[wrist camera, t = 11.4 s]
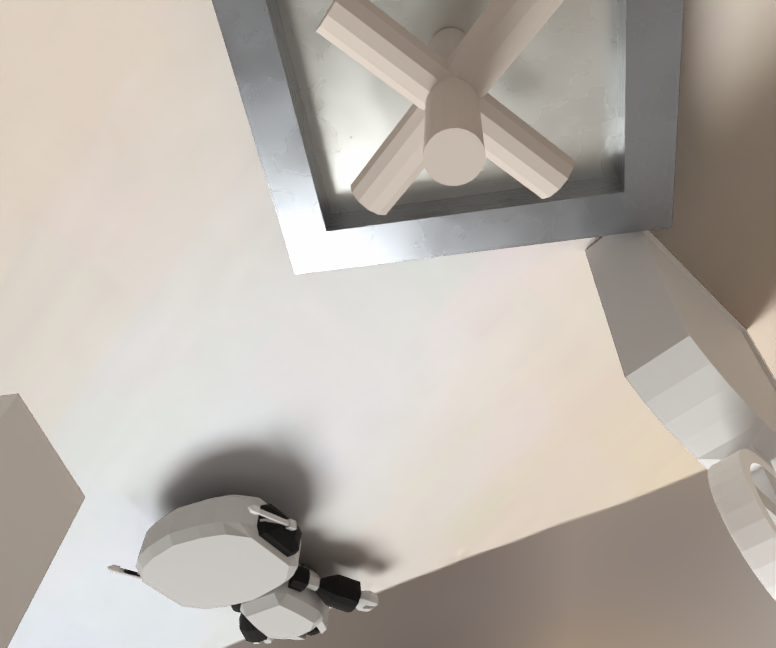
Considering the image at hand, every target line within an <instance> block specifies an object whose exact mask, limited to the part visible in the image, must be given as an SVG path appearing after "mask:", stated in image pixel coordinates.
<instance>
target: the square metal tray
mask: <svg viewBox="0 0 776 648" xmlns="http://www.w3.org/2000/svg"><path fill="white" fill-rule="evenodd" d="M333 1H334V0H212V2H213V6H214V9H215V12H216V16H217V19H218V22H219V25H220V29H221V32H222V35H223V39H224V42H225V45H226V48H227V52H228V55H229V58H230V62H231V65H232V68H233V72H234V75H235V78H236V81H237V85H238V88H239V91H240V95H241V98H242V101H243V104H244V108H245V111H246V114H247V118H248V121H249V124H250V127H251V131H252V134H253V137H254V141H255V144H256V147H257V150H258V154H259V157H260V160H261V164H262V167H263V170H264V174H265V177H266V180H267V183H268V187H269V190H270V193H271V197H272V200H273V203H274V206H275V210H276V213H277V216H278V220H279V223H280V226H281V229H282V233H283V236H284V239H285V243H286V246H287V249H288V253H289V256H290V259H291V262H292V266H293V269H294V272H295V274H302V273H310V272H318V271H326V270H334V269H342V268H350V267H358V266H366V265H374V264H382V263H390V262H398V261H406V260H414V259H422V258H430V257H438V256H446V255H454V254H462V253H470V252H479V251H487V250H495V249H503V248H511V247H519V246H527V245H535V244H543V243H551V242H559V241H567V240H575V239H583V238H591V237H599V236H607V235H615V234H623V233H631V232H639V231H647V230H655V229H663V228H671V227H672V215H673V196H674V177H675V159H676V140H677V121H678V102H679V84H680V65H681V46H682V27H683V8H684V0H564V1H563V2H562V4H561V5H560V6H559V7H558V8H557V10H556V11H555V12H554V13H553V14H552V16H551V17H550V18H549V19H548V20H547V22H546V23H545V24H544V25H543V26H542V28H541V29H540V30H539V31H538V32H537V34H536V35H535V36H534V37H533V38H532V40H531V41H530V42H529V43H528V44H527V46H526V47H525V48H524V49H523V50H522V52H521V53H520V54H519V55H518V57H517V58H516V59H515V60H514V61H513V63H512V64H511V65H510V66H509V67H508V69H507V70H506V71H505V72H504V73H503V75H502V76H501V77H500V78H499V79H498V81H497V82H496V83H495V84H494V85H493V87H492V88H491V89H490V90H489V91H488V93H489V94H490V95H491V96H492V97H494V98H495V99H496V100H498V101H499V102H500V103H501V104H503V105H504V106H505V107H507V108H508V109H509V110H510V111H512V112H513V113H514V114H516V115H517V116H518V117H519V118H521V119H522V120H523V121H525V122H526V123H527V124H528V125H530V126H531V127H532V128H534V129H535V130H536V131H537V132H539V133H540V134H541V135H543V136H544V137H545V138H546V139H548V140H549V141H550V142H552V143H553V144H554V145H555V146H557V147H558V148H559V149H560V150H562V151H563V152H564V153H566V154H567V155H568V156H569V157H571V158H572V159H573V160H574V165H573V170H572V172H571V174H570V176H569V178H568V179H567V181H566V182H565V183H564V184H563V186H562V187H561V188H560V189H559V190H558V191H557V192H556V193H554V194H553V195H552V196H551V197H548V198H545V199H542V198H541V197H539V196H538V195H536V194H535V193H534V192H532V191H531V190H530V189H528V188H527V187H526V186H524V185H523V184H522V183H520V182H519V181H518V180H516V179H515V178H513V177H512V176H511V175H509V174H508V173H507V172H505V171H504V170H503V169H501V168H500V167H499V166H497V165H496V164H495V163H493V162H492V161H490V160H489V159H488V158H486V157H485V163H484V166H483V168H482V170H481V172H480V173H479V174H478V176H476V177H475V178H474V179H473V180H472V181H470V182H468V183H466V184H463V185H459V186H448V185H444V184H441V183H439V182H437V181H435V180H434V179H433V178H432V177H431V176H430V175H429V174H428V172H427V171H426V169H425V168H424V170H423V171H422V172H421V173H420V174H419V176H418V177H417V178H416V179H415V180H414V182H413V183H412V184H411V185H410V186H409V188H408V189H407V190H406V191H405V192H404V194H403V195H402V196H401V197H400V198H399V200H398V201H397V202H396V203H395V204H394V206H393V207H392V208H391V209H390V210H389V212H388V213H387V214H386V215H378V214H376V213H374V212H372V211H370V210H368V209H366V208H365V207H364V206H363V205H362V204H361V203H359V202H358V200H357V199H356V198H355V196H354V195H353V194H352V191H351V186H350V185H351V184H352V182H353V181H354V180H355V178H356V177H357V176H358V175H359V173H360V172H361V171H362V169H363V168H364V167H365V165H366V164H367V163H368V162H369V160H370V159H371V158H372V156H373V155H374V154H375V152H376V151H377V150H378V149H379V147H380V146H381V145H382V143H383V142H384V141H385V139H386V138H387V137H388V136H389V134H390V133H391V132H392V130H393V129H394V128H395V126H396V125H397V124H398V123H399V121H400V120H401V119H402V117H403V116H404V115H405V113H406V112H407V111H408V110H409V108H410V107H411V106H412V104H413V103H412V102H411V101H409V100H408V99H407V98H405V97H404V96H403V95H401V94H400V93H398V92H397V91H396V90H394V89H393V88H392V87H390V86H389V85H388V84H386V83H385V82H384V81H382V80H381V79H380V78H378V77H377V76H375V75H374V74H373V73H371V72H370V71H369V70H367V69H366V68H365V67H363V66H362V65H361V64H359V63H358V62H357V61H355V60H354V59H352V58H351V57H350V56H348V55H347V54H346V53H344V52H343V51H342V50H340V49H339V48H338V47H336V46H335V45H334V44H332V43H331V42H329V41H328V40H327V39H325V38H324V37H323V36H321V35H320V34H319V33H317V32H316V29H317V28H318V26H319V24H320V22H321V21H322V19H323V17H324V16H325V14H326V12H327V11H328V9H329V7H330V6H331V4H332V2H333ZM369 1H370V2H372V3H373V4H374V5H376V6H377V7H378V8H379V9H381V10H382V11H383V12H385V13H386V14H387V15H388V16H390V17H391V18H392V19H394V20H395V21H396V22H397V23H399V24H400V25H401V26H403V27H404V28H405V29H406V30H408V31H409V32H410V33H412V34H413V35H414V36H415V37H417V38H418V39H419V40H420V41H422V42H423V43H424V44H426V45H427V46H428V45H429V42H430V40H431V39H432V37H433V36H434V35H435V34H436V33H437V32H439V31H440V30H442V29H446V28H456V29H459V30H461V31H463V32H464V33H465V34H467V33H468V32H469V30H470V29H471V28H472V26H473V25H474V24H475V22H476V21H477V20H478V18H479V17H480V16H481V15H482V13H483V12H484V11H485V9H486V8H487V7H488V5H489V4H490V3H491V2H492V0H369Z"/></svg>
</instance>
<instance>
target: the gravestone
mask: <svg viewBox="0 0 776 648" xmlns="http://www.w3.org/2000/svg"><path fill="white" fill-rule="evenodd" d="M585 252H586V256H587V259H588V262H589V265H590V268H591V271H592V274H593V278H594V281H595V284H596V287H597V290H598V293H599V297H600V300H601V303H602V306H603V309H604V312H605V315H606V319H607V322H608V325H609V328H610V331H611V334H612V338H613V341H614V344H615V347H616V350H617V353H618V356H619V360H620V363H621V366H622V369H623V372H624V375H625V378H626V379H627V381H628V382H629V383H630V384H631V386H632V387H633V388H634V390H635V391H636V392H637V394H638V395H639V396H640V398H641V399H642V400H643V402H644V403H645V404H646V405H647V407H648V408H649V409H650V410H651V411H652V413H653V414H654V415H655V416H656V417H657V419H658V420H659V421H660V422H661V423H662V425H663V426H664V427H665V428H666V429H667V430H668V431H669V432H670V433H671V434H672V435H673V436H674V437H675V438H676V439H677V441H678V442H679V443H680V444H681V445H682V446H683V447H684V448H685V449H686V450H687V451H688V452H690V453H691V454H692V455H693V456H694V457H695V458H696V459H697V460H698V461H699V462H700V463H701V464H702V465H703V466H704V467H705V468H706V469H707V470H708V480H709V485H710V490H711V493H712V495H713V498H714V501H715V504H716V506H717V508H718V511H719V513H720V515H721V517H722V519H723V521H724V523H725V525H726V527H727V529H728V531H729V533H730V535H731V536H732V538H733V540H734V542H735V543H736V545H737V547H738V549H739V550H740V552H741V553H742V555H743V557H744V558H745V560H746V561H747V563H748V564H749V566H750V567H751V569H752V570H753V572H754V573H755V575H756V576H757V577H758V579H759V580H760V581H761V583H762V584H763V586H764V587H765V588H766V590H767V591H768V592H769V593H770V594H771V596H772V597H773V598H774V599H775V601H776V380H775V378H774V376H773V374H772V373H771V371H770V369H769V368H768V366H767V364H766V362H765V361H764V359H763V357H762V356H761V354H760V352H759V350H758V349H757V347H756V345H755V344H754V342H753V340H752V338H751V337H750V335H749V333H748V332H747V330H746V329H745V328H744V327H743V326H742V325H741V324H740V323H739V322H738V321H737V320H736V319H735V318H734V317H733V316H732V315H731V314H730V313H729V312H728V311H727V310H726V308H725V307H724V306H723V305H722V304H721V303H720V302H719V301H718V300H717V299H716V298H715V297H714V296H713V295H712V294H711V293H710V292H709V291H708V290H707V289H706V288H705V287H704V286H703V285H702V284H701V283H700V282H699V281H698V280H697V279H696V278H695V277H694V276H693V275H692V274H691V273H690V272H689V271H688V270H687V269H686V268H685V267H684V266H683V265H682V264H681V263H680V262H679V261H678V259H677V258H676V257H675V256H674V255H673V254H672V253H671V252H670V251H669V250H668V249H667V248H666V247H665V246H664V245H663V244H662V243H661V242H660V241H659V240H658V239H657V238H656V237H655V236H654V235H653V234H652V233H651V232H650V231H649V230H647V231H639V232H631V233H623V234H615V235H607V236H603V237H602V238H600V239H599V240H598V241H597V242H595V243H594V244H593V245H591V246H590V247H589V248H588V249H586V250H585Z"/></svg>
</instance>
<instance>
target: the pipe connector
mask: <svg viewBox="0 0 776 648" xmlns="http://www.w3.org/2000/svg"><path fill="white" fill-rule="evenodd" d="M563 1H564V0H492V2H491V3H490V4H489V5H488V7H487V8H486V9H485V11H484V12H483V13H482V15H481V16H480V17H479V18H478V20H477V21H476V22H475V24H474V25H473V26H472V28H471V29H470V30H469V32H468V33H467V34H465V33H464V32H463V31H461V30H459V29H456V28H446V29H442V30H440V31H439V32H437V33H436V34H435V35H434V36H433V37H432V39H431V40H430V42H429V45H428V46H427V45H426V44H424V43H423V42H422V41H420V40H419V39H418V38H417V37H415V36H414V35H413V34H412V33H410V32H409V31H408V30H406V29H405V28H404V27H403V26H401V25H400V24H399V23H397V22H396V21H395V20H394V19H392V18H391V17H390V16H388V15H387V14H386V13H385V12H383V11H382V10H381V9H379V8H378V7H377V6H376V5H374V4H373V3H372V2H370V1H369V0H334V1H333V2H332V4H331V6H330V7H329V9H328V11H327V12H326V14H325V16H324V17H323V19H322V21H321V22H320V24H319V26H318V28H317V29H316V32H317V33H319V34H320V35H321V36H323V37H324V38H325V39H327V40H328V41H329V42H331V43H332V44H334V45H335V46H336V47H338V48H339V49H340V50H342V51H343V52H344V53H346V54H347V55H348V56H350V57H351V58H352V59H354V60H355V61H357V62H358V63H359V64H361V65H362V66H363V67H365V68H366V69H367V70H369V71H370V72H371V73H373V74H374V75H375V76H377V77H378V78H380V79H381V80H382V81H384V82H385V83H386V84H388V85H389V86H390V87H392V88H393V89H394V90H396V91H397V92H398V93H400V94H401V95H403V96H404V97H405V98H407V99H408V100H409V101H411V102H412V103H413V104H412V106H411V107H410V108H409V110H408V111H407V112H406V113H405V115H404V116H403V117H402V119H401V120H400V121H399V123H398V124H397V125H396V126H395V128H394V129H393V130H392V132H391V133H390V134H389V136H388V137H387V138H386V139H385V141H384V142H383V143H382V145H381V146H380V147H379V149H378V150H377V151H376V152H375V154H374V155H373V156H372V158H371V159H370V160H369V162H368V163H367V164H366V165H365V167H364V168H363V169H362V171H361V172H360V173H359V175H358V176H357V177H356V178H355V180H354V181H353V182H352V184H351V185H350V186H351V191H352V194H353V195H354V196H355V198H356V199H357V200H358V202H359V203H361V204H362V205H363V206H364V207H365V208H366V209H368V210H370V211H372V212H374V213H376V214H378V215H386V214H387V213H388V212H389V210H390V209H391V208H392V207H393V206H394V204H395V203H396V202H397V201H398V200H399V198H400V197H401V196H402V195H403V194H404V192H405V191H406V190H407V189H408V188H409V186H410V185H411V184H412V183H413V182H414V180H415V179H416V178H417V177H418V176H419V174H420V173H421V172H422V171H423V170H424V168H425V169H426V171H427V172H428V174H429V175H430V176H431V177H432V178H433V179H434V180H435V181H437V182H439V183H441V184H444V185H448V186H459V185H463V184H466V183H468V182H470V181H472V180H473V179H474V178H475V177H476V176H478V174H479V173H480V172H481V170H482V168H483V166H484V163H485V157H486V158H488V159H489V160H490V161H492V162H493V163H495V164H496V165H497V166H499V167H500V168H501V169H503V170H504V171H505V172H507V173H508V174H509V175H511V176H512V177H513V178H515V179H516V180H518V181H519V182H520V183H522V184H523V185H524V186H526V187H527V188H528V189H530V190H531V191H532V192H534V193H535V194H536V195H538V196H539V197H541V198H542V199H545V198H548V197H551V196H552V195H553V194H554V193H556V192H557V191H558V190H559V189H560V188H561V187H562V186H563V184H564V183H565V182H566V181H567V179H568V178H569V176H570V174H571V172H572V170H573V165H574V160H573V159H572V158H571V157H569V156H568V155H567V154H566V153H564V152H563V151H562V150H560V149H559V148H558V147H557V146H555V145H554V144H553V143H552V142H550V141H549V140H548V139H546V138H545V137H544V136H543V135H541V134H540V133H539V132H537V131H536V130H535V129H534V128H532V127H531V126H530V125H528V124H527V123H526V122H525V121H523V120H522V119H521V118H519V117H518V116H517V115H516V114H514V113H513V112H512V111H510V110H509V109H508V108H507V107H505V106H504V105H503V104H501V103H500V102H499V101H498V100H496V99H495V98H494V97H492V96H491V95H490V94H489V93H488V91H489V90H490V89H491V88H492V87H493V85H494V84H495V83H496V82H497V81H498V79H499V78H500V77H501V76H502V75H503V73H504V72H505V71H506V70H507V69H508V67H509V66H510V65H511V64H512V63H513V61H514V60H515V59H516V58H517V57H518V55H519V54H520V53H521V52H522V50H523V49H524V48H525V47H526V46H527V44H528V43H529V42H530V41H531V40H532V38H533V37H534V36H535V35H536V34H537V32H538V31H539V30H540V29H541V28H542V26H543V25H544V24H545V23H546V22H547V20H548V19H549V18H550V17H551V16H552V14H553V13H554V12H555V11H556V10H557V8H558V7H559V6H560V5H561V4H562V2H563Z"/></svg>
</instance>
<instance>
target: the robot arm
mask: <svg viewBox="0 0 776 648" xmlns="http://www.w3.org/2000/svg"><path fill="white" fill-rule="evenodd" d="M84 499H85V496H84V494H83V493H82V491H81V490H80V488H79V486H78V485H77V483H76V482H75V480H74V479H73V477H72V476H71V474H70V473H69V471H68V469H67V468H66V466H65V465H64V463H63V462H62V460H61V459H60V457H59V455H58V454H57V452H56V451H55V449H54V448H53V446H52V445H51V443H50V442H49V440H48V438H47V437H46V435H45V434H44V432H43V431H42V429H41V428H40V426H39V424H38V423H37V421H36V420H35V418H34V417H33V415H32V414H31V412H30V410H29V409H28V407H27V406H26V404H25V403H24V401H23V400H22V398H21V397H20V395H19V394H11V395H2V396H0V648H7V647H8V645H9V643H10V641H11V639H12V638H13V636H14V634H15V632H16V630H17V628H18V626H19V624H20V622H21V620H22V618H23V616H24V614H25V612H26V611H27V609H28V607H29V605H30V603H31V601H32V599H33V597H34V595H35V593H36V591H37V589H38V587H39V585H40V584H41V582H42V580H43V578H44V576H45V574H46V572H47V570H48V568H49V566H50V564H51V562H52V560H53V558H54V557H55V555H56V553H57V551H58V549H59V547H60V545H61V543H62V541H63V539H64V537H65V535H66V533H67V531H68V530H69V528H70V526H71V524H72V522H73V520H74V518H75V516H76V514H77V512H78V510H79V508H80V506H81V504H82V503H83V501H84Z"/></svg>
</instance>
